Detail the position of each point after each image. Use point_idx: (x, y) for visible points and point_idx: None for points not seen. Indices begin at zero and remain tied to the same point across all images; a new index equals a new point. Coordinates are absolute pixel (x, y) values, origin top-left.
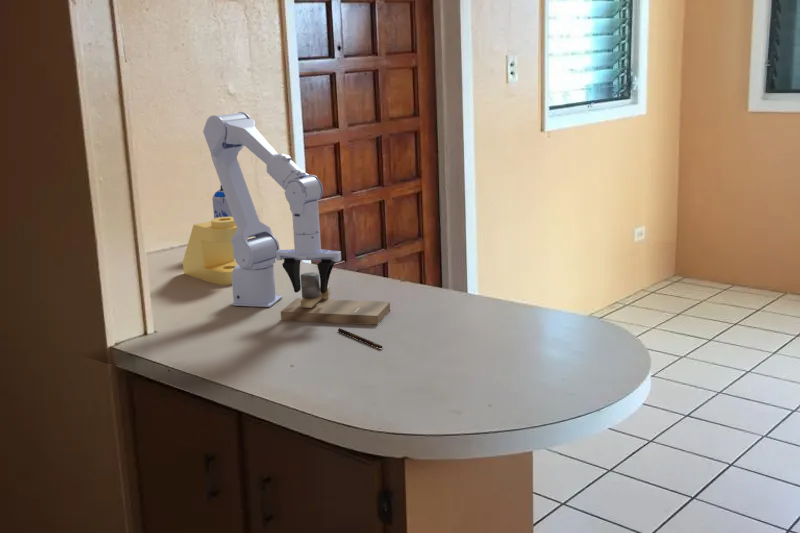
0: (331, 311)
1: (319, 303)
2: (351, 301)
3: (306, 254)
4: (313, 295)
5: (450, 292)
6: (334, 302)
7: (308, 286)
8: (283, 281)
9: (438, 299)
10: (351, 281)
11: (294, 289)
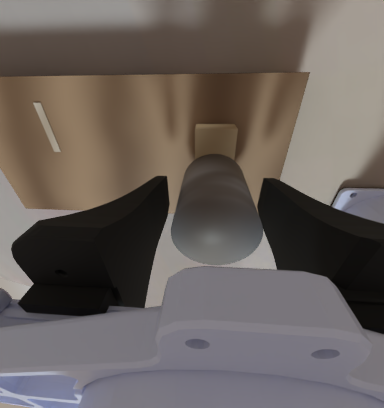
0: (117, 104)
1: None
2: None
3: (193, 377)
4: (194, 164)
5: (23, 281)
6: None
7: (210, 174)
8: None
9: (11, 255)
10: None
11: (278, 180)
